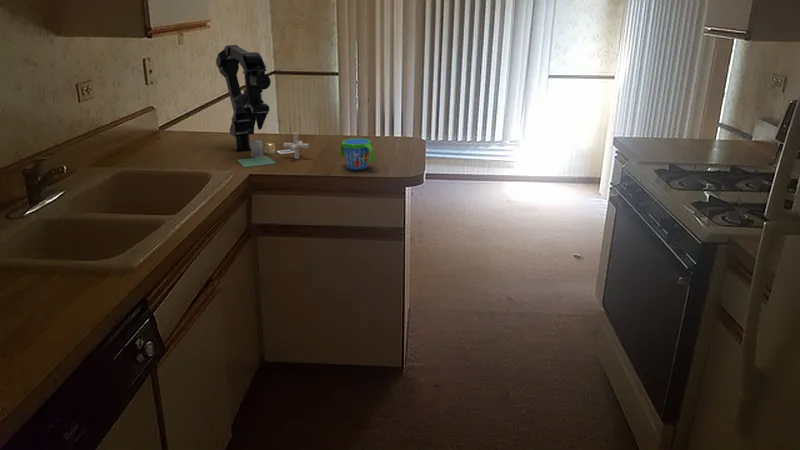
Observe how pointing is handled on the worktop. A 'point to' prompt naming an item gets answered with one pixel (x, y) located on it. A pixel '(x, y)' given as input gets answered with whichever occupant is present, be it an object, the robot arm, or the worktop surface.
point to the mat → (256, 162)
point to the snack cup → (357, 153)
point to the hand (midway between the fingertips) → (256, 127)
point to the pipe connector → (296, 145)
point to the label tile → (285, 151)
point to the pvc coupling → (256, 148)
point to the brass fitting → (269, 148)
